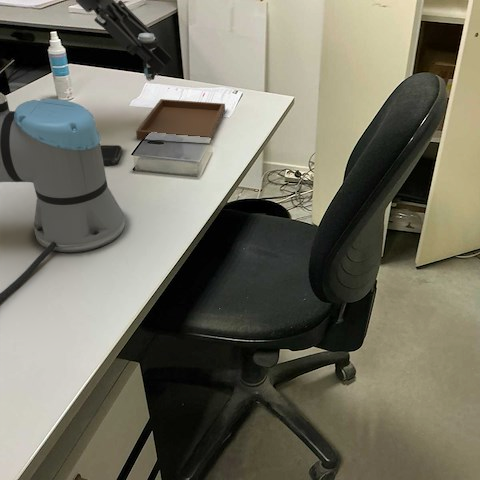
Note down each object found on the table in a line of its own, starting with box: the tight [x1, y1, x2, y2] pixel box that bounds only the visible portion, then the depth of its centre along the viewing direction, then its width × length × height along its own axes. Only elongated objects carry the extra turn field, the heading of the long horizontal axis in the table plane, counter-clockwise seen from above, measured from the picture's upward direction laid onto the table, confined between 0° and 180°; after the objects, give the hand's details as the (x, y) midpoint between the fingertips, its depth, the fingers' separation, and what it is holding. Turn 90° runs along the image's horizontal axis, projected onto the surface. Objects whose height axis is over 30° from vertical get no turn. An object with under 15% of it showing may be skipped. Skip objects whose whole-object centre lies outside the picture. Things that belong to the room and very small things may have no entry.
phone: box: [100, 144, 123, 166], centre depth 124 cm, size 8×1×15 cm
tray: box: [136, 98, 226, 141], centre depth 142 cm, size 22×18×2 cm
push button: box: [136, 33, 160, 82], centre depth 132 cm, size 7×5×10 cm
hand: (164, 65), depth 133 cm, fingers closed on push button, 5 cm apart
